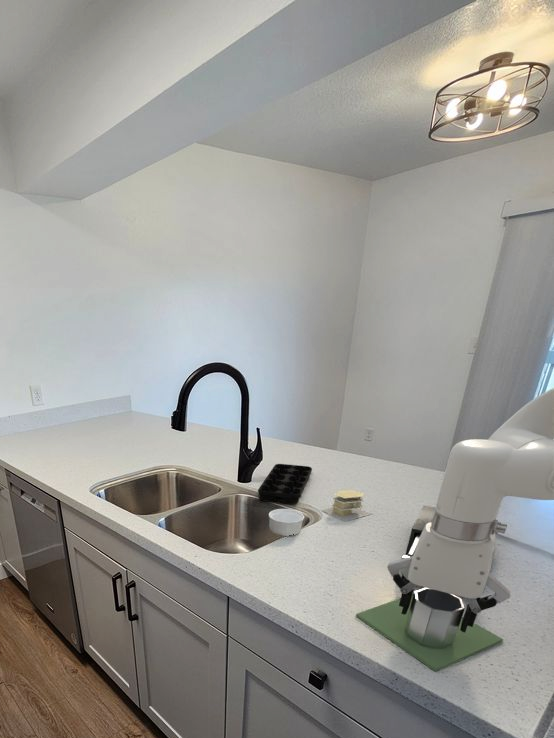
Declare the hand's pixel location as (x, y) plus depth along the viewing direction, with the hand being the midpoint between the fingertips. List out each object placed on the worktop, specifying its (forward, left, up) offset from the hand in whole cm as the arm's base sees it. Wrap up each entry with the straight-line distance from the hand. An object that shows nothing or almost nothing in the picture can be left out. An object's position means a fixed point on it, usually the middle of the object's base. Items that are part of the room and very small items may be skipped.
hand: (433, 618), depth 73 cm
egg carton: (+71, -26, -4) cm, 76 cm away
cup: (0, 0, -4) cm, 4 cm away
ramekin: (+46, -6, -4) cm, 47 cm away
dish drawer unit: (+20, -32, -4) cm, 38 cm away
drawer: (+12, -18, -3) cm, 22 cm away
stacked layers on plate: (+47, -28, -4) cm, 55 cm away
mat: (+2, -2, -4) cm, 5 cm away
